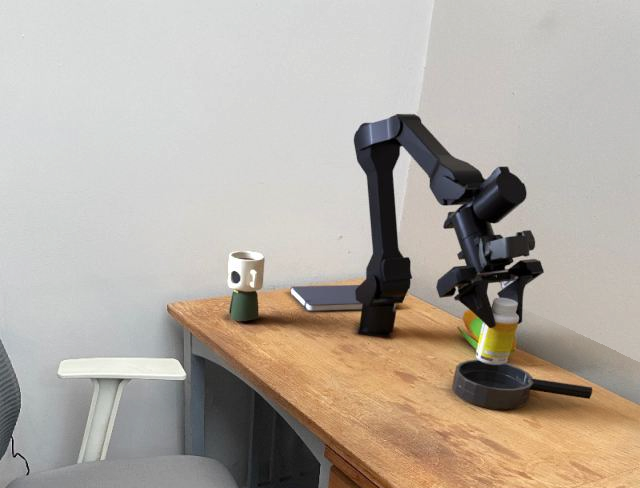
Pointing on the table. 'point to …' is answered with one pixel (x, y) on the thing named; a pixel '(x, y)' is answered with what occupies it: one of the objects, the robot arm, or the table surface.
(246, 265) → the character mug
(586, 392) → the skillet handle
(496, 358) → the supplement bottle
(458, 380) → the skillet
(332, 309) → the notebook
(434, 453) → the table surface
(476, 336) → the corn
